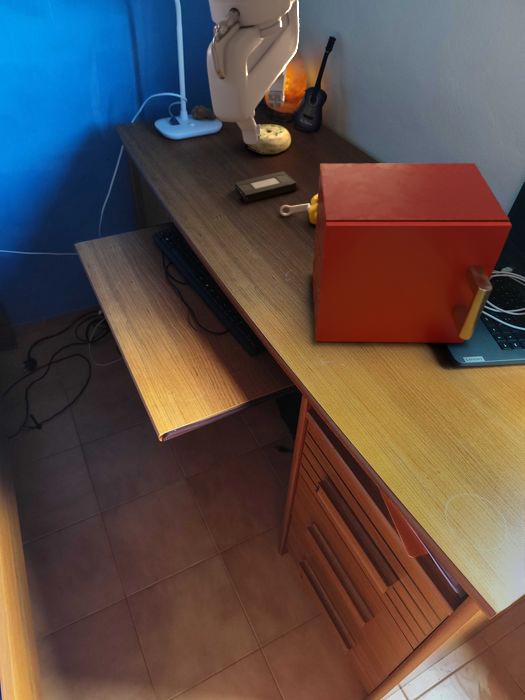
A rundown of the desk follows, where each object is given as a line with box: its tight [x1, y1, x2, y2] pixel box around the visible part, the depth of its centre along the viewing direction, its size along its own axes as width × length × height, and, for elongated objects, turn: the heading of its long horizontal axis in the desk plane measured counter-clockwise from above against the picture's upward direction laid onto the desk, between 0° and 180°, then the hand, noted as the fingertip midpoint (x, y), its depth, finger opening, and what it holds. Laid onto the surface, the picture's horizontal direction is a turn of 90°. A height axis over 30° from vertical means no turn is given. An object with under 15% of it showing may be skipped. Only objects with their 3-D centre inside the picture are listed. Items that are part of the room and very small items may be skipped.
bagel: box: [246, 123, 292, 155], centre depth 139 cm, size 14×13×5 cm
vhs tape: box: [234, 170, 297, 203], centre depth 122 cm, size 8×14×2 cm, turn 115°
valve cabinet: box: [311, 162, 510, 333], centre depth 81 cm, size 18×26×24 cm
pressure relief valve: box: [279, 194, 318, 226], centre depth 110 cm, size 6×12×10 cm
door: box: [315, 221, 513, 344], centre depth 73 cm, size 7×26×24 cm, turn 88°
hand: (265, 122), depth 60 cm, fingers open, 8 cm apart
